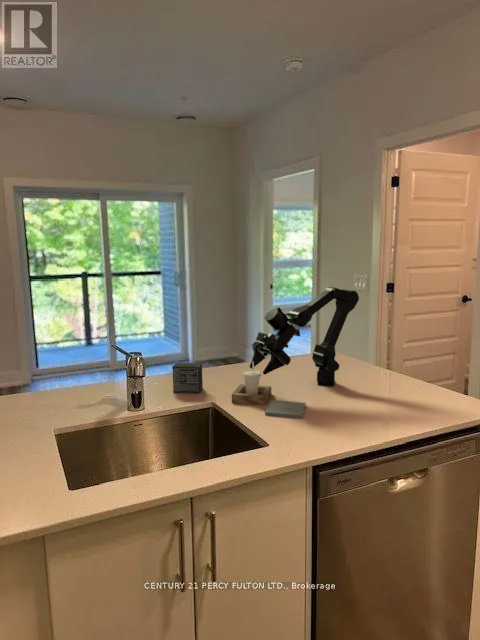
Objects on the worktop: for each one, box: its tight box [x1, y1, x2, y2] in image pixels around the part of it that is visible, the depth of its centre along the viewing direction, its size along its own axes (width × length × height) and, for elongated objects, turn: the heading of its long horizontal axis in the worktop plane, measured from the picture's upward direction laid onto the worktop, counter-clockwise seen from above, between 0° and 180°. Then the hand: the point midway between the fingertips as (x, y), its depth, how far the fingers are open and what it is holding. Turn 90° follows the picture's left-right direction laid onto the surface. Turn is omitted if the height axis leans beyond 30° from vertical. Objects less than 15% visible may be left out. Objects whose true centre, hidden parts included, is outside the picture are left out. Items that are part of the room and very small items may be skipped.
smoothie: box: [242, 360, 261, 395], centre depth 167 cm, size 6×6×14 cm
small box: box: [172, 362, 204, 394], centre depth 177 cm, size 11×6×10 cm, turn 84°
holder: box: [231, 384, 272, 406], centre depth 168 cm, size 12×12×3 cm
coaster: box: [264, 399, 307, 419], centre depth 156 cm, size 12×12×1 cm
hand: (256, 370), depth 168 cm, fingers open, 9 cm apart
